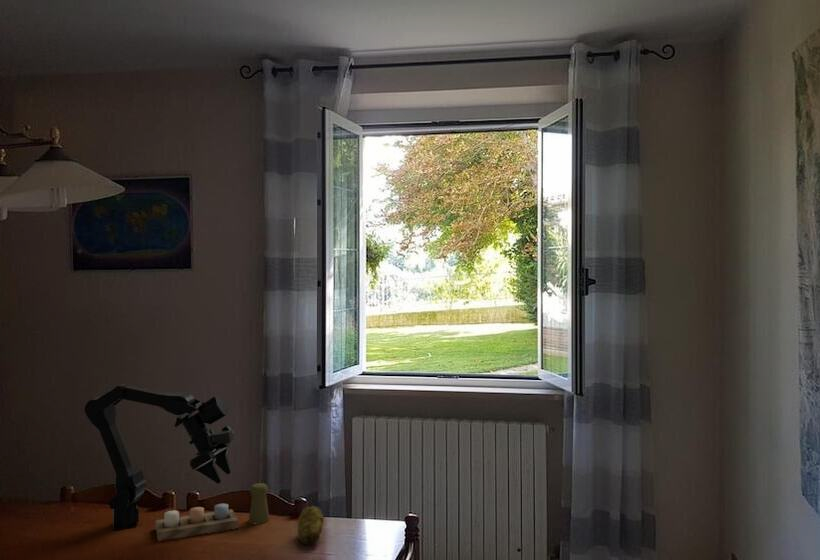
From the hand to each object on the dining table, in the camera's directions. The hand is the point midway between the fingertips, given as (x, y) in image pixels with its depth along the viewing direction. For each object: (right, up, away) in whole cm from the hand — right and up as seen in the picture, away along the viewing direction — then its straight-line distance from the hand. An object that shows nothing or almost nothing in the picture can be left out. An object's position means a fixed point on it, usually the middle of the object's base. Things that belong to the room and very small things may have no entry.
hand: (224, 478), depth 193 cm
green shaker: (+9, -15, +6) cm, 18 cm away
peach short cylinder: (-8, -13, -1) cm, 15 cm away
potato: (+26, -15, -8) cm, 31 cm away
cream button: (-14, -13, -4) cm, 19 cm away
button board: (-8, -14, -1) cm, 17 cm away
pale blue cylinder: (-2, -13, +2) cm, 13 cm away
